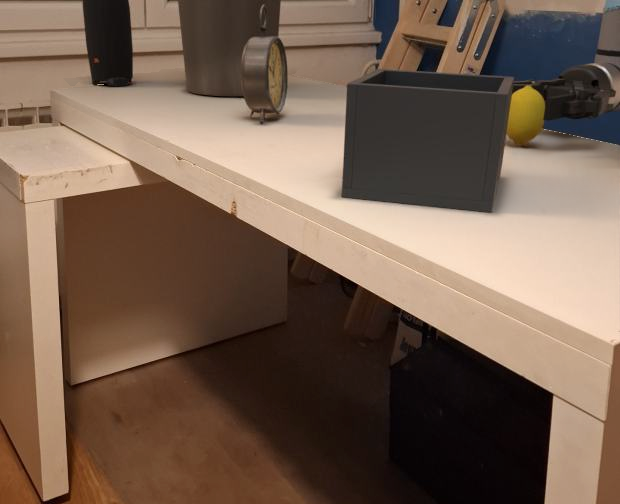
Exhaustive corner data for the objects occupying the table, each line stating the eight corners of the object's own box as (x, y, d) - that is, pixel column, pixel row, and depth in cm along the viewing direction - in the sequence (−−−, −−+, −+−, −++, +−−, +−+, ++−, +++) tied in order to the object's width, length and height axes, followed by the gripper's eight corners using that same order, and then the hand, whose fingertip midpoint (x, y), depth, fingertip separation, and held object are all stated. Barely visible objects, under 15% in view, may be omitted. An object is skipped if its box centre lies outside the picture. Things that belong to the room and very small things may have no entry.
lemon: (492, 142, 105) (500, 82, 102) (527, 142, 107) (536, 82, 103) (510, 151, 101) (520, 88, 97) (548, 150, 102) (558, 88, 98)
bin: (500, 178, 86) (514, 76, 81) (491, 212, 73) (507, 94, 68) (371, 166, 90) (377, 68, 85) (341, 197, 77) (346, 83, 72)
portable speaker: (105, 88, 143) (94, -27, 134) (81, 82, 149) (69, -28, 140) (144, 85, 148) (136, -26, 139) (120, 80, 154) (111, -27, 145)
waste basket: (167, 82, 153) (159, -88, 140) (265, 82, 159) (266, -82, 146) (187, 102, 130) (179, -99, 117) (301, 101, 135) (305, -92, 122)
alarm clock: (269, 126, 112) (270, 6, 105) (235, 123, 113) (233, 5, 106) (289, 115, 121) (290, 4, 114) (257, 112, 122) (256, 3, 115)
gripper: (657, 127, 107) (586, 147, 93) (516, 107, 121) (435, 121, 107) (669, 72, 104) (598, 83, 90) (523, 57, 118) (441, 64, 104)
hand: (509, 103), depth 98 cm, fingers open, 10 cm apart
